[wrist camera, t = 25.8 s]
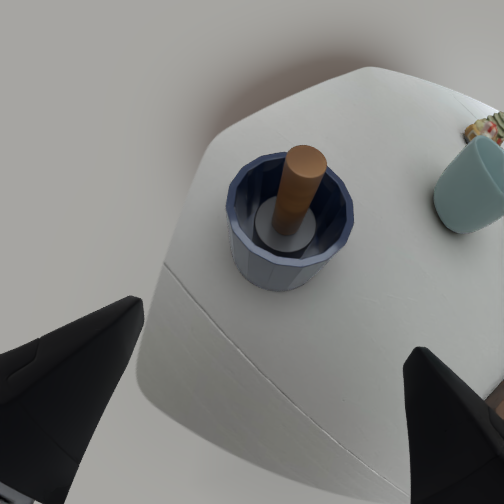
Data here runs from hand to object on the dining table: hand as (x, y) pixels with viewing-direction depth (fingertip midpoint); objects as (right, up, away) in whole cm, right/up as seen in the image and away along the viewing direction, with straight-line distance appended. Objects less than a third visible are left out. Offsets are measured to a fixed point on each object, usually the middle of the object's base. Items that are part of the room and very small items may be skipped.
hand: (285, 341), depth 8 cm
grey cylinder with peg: (+1, +3, +15) cm, 15 cm away
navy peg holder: (+1, +3, +15) cm, 16 cm away
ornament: (+36, +20, +23) cm, 47 cm away
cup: (+22, +7, +18) cm, 29 cm away
